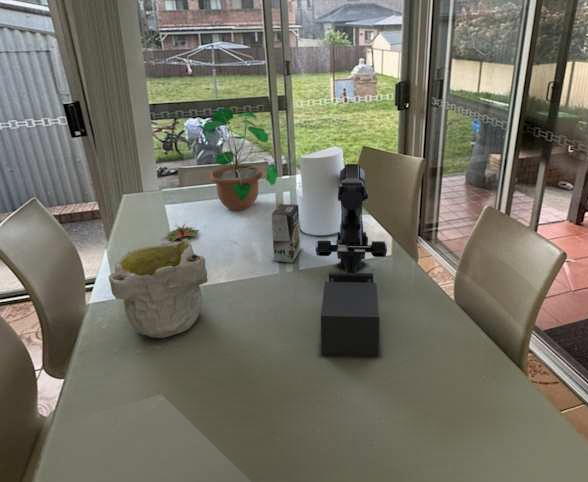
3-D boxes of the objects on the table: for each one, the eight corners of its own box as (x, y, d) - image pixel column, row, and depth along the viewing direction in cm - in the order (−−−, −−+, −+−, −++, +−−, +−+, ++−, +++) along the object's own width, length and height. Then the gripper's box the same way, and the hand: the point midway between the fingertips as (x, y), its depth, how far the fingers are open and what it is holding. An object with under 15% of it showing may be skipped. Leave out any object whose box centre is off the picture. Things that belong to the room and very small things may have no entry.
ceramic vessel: (86, 282, 112) (140, 201, 111) (173, 314, 125) (221, 241, 124) (78, 333, 93) (143, 235, 92) (181, 364, 105) (239, 278, 104)
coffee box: (293, 263, 137) (290, 215, 131) (273, 261, 138) (270, 214, 132) (301, 249, 145) (299, 204, 140) (282, 247, 147) (279, 203, 141)
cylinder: (356, 223, 162) (353, 149, 152) (323, 239, 150) (317, 160, 141) (323, 212, 173) (318, 143, 164) (290, 227, 162) (282, 153, 152)
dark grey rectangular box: (325, 317, 111) (324, 281, 107) (375, 318, 111) (376, 282, 107) (321, 355, 99) (320, 315, 95) (377, 356, 98) (379, 317, 94)
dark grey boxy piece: (330, 292, 120) (329, 264, 117) (371, 293, 120) (372, 265, 116) (326, 331, 105) (325, 300, 102) (374, 332, 104) (375, 301, 101)
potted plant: (275, 218, 169) (269, 115, 155) (200, 218, 170) (187, 116, 156) (284, 190, 198) (280, 102, 184) (221, 190, 199) (211, 102, 184)
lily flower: (186, 245, 149) (184, 233, 147) (157, 240, 152) (155, 228, 151) (206, 231, 159) (205, 219, 158) (179, 226, 163) (177, 215, 161)
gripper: (383, 234, 127) (384, 288, 121) (319, 233, 128) (317, 286, 122) (386, 220, 117) (387, 278, 111) (316, 219, 118) (314, 277, 112)
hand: (350, 280), depth 114 cm, fingers closed, pressing on dark grey boxy piece
